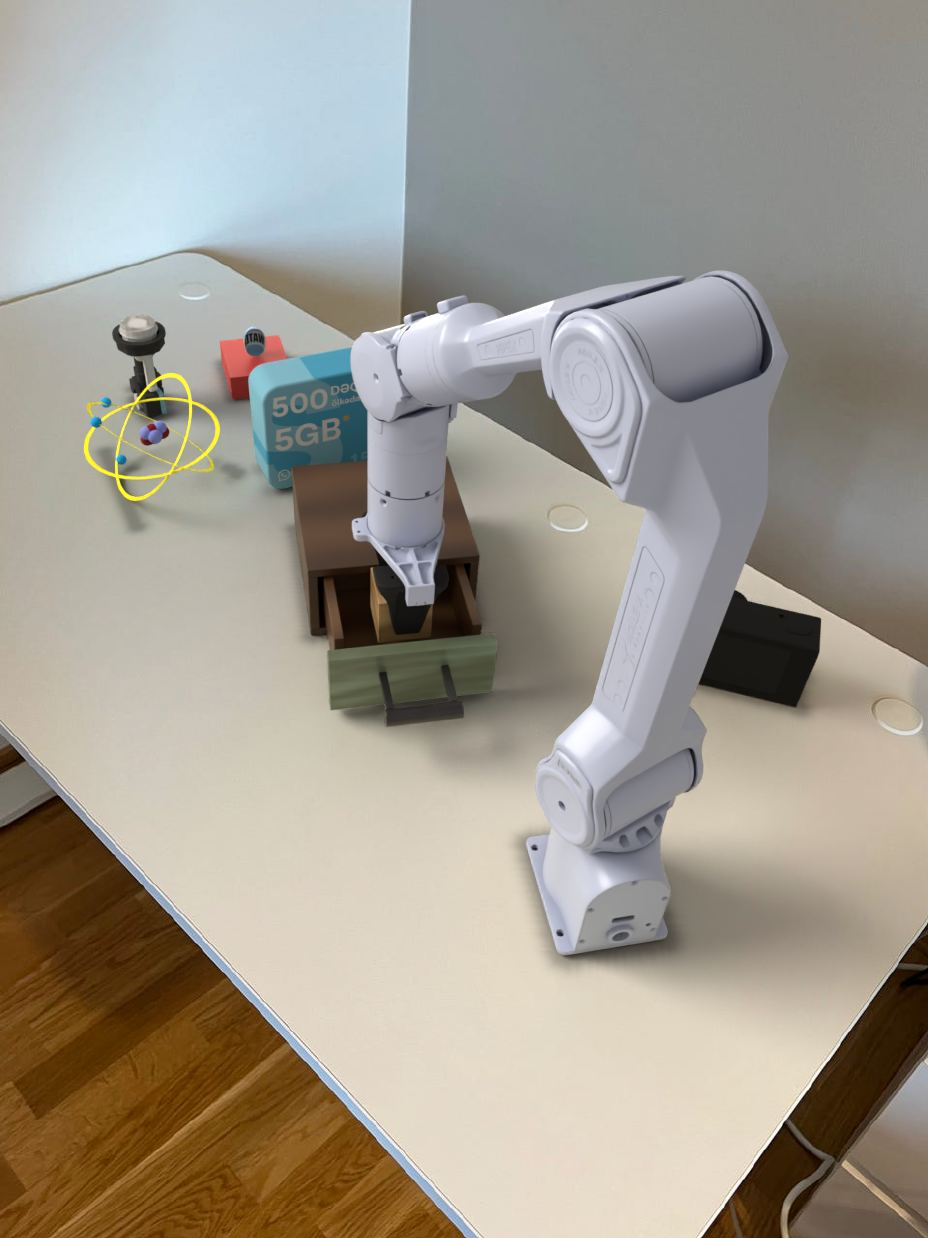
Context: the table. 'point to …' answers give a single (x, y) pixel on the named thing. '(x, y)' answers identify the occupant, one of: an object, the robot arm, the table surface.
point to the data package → (306, 414)
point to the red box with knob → (248, 358)
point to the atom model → (149, 437)
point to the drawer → (405, 653)
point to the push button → (143, 358)
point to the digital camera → (763, 652)
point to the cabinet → (327, 537)
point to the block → (384, 621)
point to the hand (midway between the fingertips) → (401, 609)
